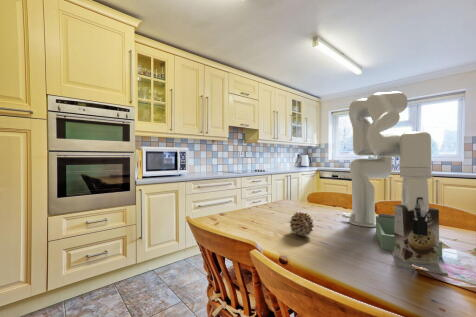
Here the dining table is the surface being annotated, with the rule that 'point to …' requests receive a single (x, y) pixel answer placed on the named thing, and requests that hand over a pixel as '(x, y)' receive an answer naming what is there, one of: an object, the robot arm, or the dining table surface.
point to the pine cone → (301, 224)
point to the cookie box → (416, 237)
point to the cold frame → (390, 232)
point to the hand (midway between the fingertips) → (415, 229)
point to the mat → (419, 265)
